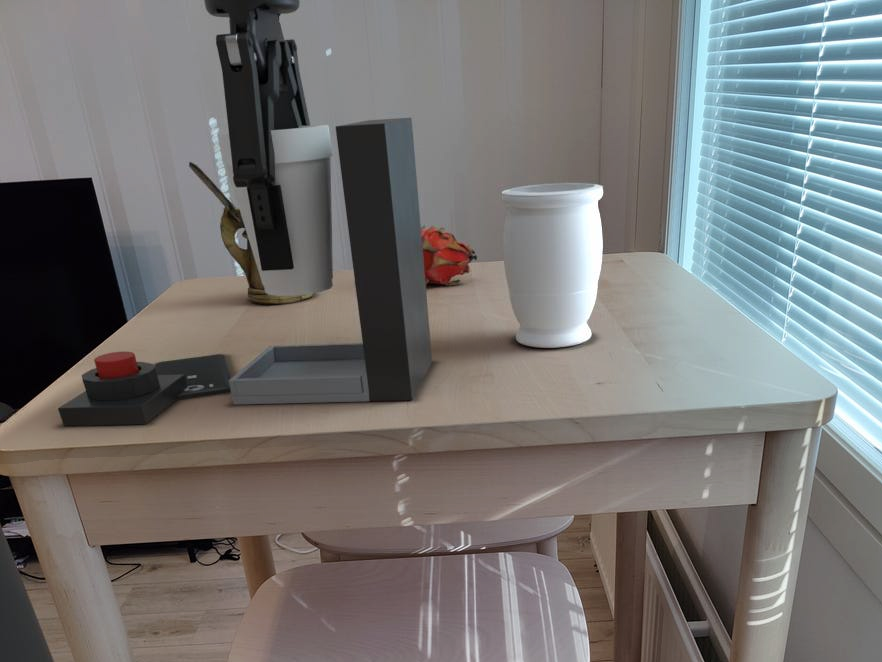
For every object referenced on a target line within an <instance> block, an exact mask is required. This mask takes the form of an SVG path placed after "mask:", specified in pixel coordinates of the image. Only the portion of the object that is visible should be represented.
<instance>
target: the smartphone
mask: <svg viewBox="0 0 882 662" xmlns="http://www.w3.org/2000/svg"><path fill="white" fill-rule="evenodd" d="M154 366H155V369H156V373H157V375H181V374H184V376H185V380H186V384H187V388H186V389H185V390H184V391H183V392H181V393H180V394H179V395H178V400H177V401H180V400H186V399H193V398H202V397H207V396H214V395H215V396H216V395H221V394H228V393H231V390H230V385H229V380H230V379H231V378H232V376H231V374H230V369H229V366H228V362H227V359H226V355H225V354H222V353H218V354H211V355H202V356H194V357H187V358H179V359H172V360H164V361H159V362H156V363H155V364H154Z"/></svg>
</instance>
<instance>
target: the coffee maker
mask: <svg viewBox="0 0 882 662" xmlns="http://www.w3.org/2000/svg"><path fill="white" fill-rule="evenodd" d="M413 129H414V128H413V120H412V117H398V118H397V117H396V118H382V119H368V120H362V121H357V122H352V123H346V124H341V125H336V126H335V134H336V143H337V150H338V157H339V165H340V174H341V181H342V191H343V198H344V206H345V214H346V222H347V231H348V239H349V245H350V253H351V262H352V269H353V277H354V285H355V293H356V301H357V308H358V317H359V325H360V332H361V341H362V342H346V343H345V342H344V343H342V342H341V343H312V344H310V343H309V344H282V345H281V344H279V345H269V346H268V347H267V348H266V349H264V350H263V351H262V352H260V353H259V355H257V356H256V357H255V358H254V359H253V360H251V361H250V362H249V363H247V365H245V366H244V367H243V368H241V370H239V372H237V373H236V374H235V375H234V376H231V379H230V380H229V385H230V390H231V392H230V394H231V398H232V402H233V405H235V406H236V405H237V406H238V405H280V404H314V403H315V404H317V403H318V404H319V403H358V402H360V403H361V402H397V401H398V402H399V401H413V399H414V397H415V396H416V394H417V392H418V390H419V388H420V386H421V385H422V383H423V381H424V379H425V377H426V375H427V373H428V371H429V369H430V368H431V366H432V364H433V354H432V344H431V332H430V320H429V307H428V306H429V305H428V297H427V296H428V295H427V284H426V283H425V271H424V259H423V247H422V235H421V227H422V225H421V214H420V213H421V212H420V201H419V191H418V178H417V177H418V176H417V165H416V155H415V154H416V153H415V144H414V143H415V142H414V141H415V140H414V131H413Z"/></svg>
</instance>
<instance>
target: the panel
mask: <svg viewBox="0 0 882 662" xmlns="http://www.w3.org/2000/svg"><path fill="white" fill-rule="evenodd" d="M137 365H138V369H139V371H138V372H137V373H133V374H130V375H126V376H120V377H113V378H101V377H99V375H98V372H97V368H96V367H95V368H91V369H88V371H86V372H84V373H83V374H81V379H82V384H83V386H84V390H85V391H83V392H81V393H80V394H77V396H75V397H73V398H72V399H70V400H68V401H67V402H66V403H64V404H62V405H60V406H59V407H57V410H58V413H59V416H60V420H61V422H62V425H63V427H79V426H80V427H83V426H87V427H88V426H123V425H124V426H125V425H126V426H128V425H133V426H134V425H147V424H148V423H149V422H151V421H152V420H153V419H155V418H156V417H157V416H159V415H160V414H161V413H162V412H164V411H165V410H166V409H167V408H169V407H170V406H171V405H173V404H174V403H175V402H177V401H179V400H178V395H179V394H180V393H181V392H183V391H184V390H185V389H186V388H187V384H186V380H185V376H184V374H181V375H157V373H156V369H155V364H154V363H151V362H145V361H137Z"/></svg>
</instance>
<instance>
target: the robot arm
mask: <svg viewBox="0 0 882 662" xmlns="http://www.w3.org/2000/svg"><path fill="white" fill-rule="evenodd" d="M203 2H204V6H205V10H206V12H207V13H208V14H209V15H210V16H213V17H215V18H229V20H228V22H229V23H228V24H229V33H221V34H220V33H219V34H216V35H215V46H216V49H217V54H218V59H219V63H220V68H221V73H222V82H223V83H222V84H223V90H224V92H223V93H224V101H225V109H226V111H225V112H226V120H227V129H228V132H229V139H230V148H231V157H232V167H233V174H234V176H233V180H234V184H235V186H236V187H237V188H239V187H247V192H248V198H249V203H250V209H251V214H252V220H253V225H254V231H255V236H256V242H257V247H258V253H259V258H260V264H261V269H262V271H269V270H291V269H293V268H294V265H293V259H292V253H291V246H290V240H289V234H288V228H287V222H286V216H285V210H284V203H283V197H282V191H281V185H275V154H274V148H273V142H272V135H271V131H272V130H284V129H296V128H299V126H311V122H310V117H309V112H308V107H307V102H306V96H305V92H304V87H303V82H302V77H301V72H300V66H299V65H300V64H299V56H298V45H297V43H296V41H295V39H293V38H291V39H285V37H284V33H283V28H282V23H281V22H280V16H281V15H283V14H284V15H287V14H291V13H292V14H293V13H295V12H296V11H298V9H299V8H300V4H301V2H300V0H203Z"/></svg>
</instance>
